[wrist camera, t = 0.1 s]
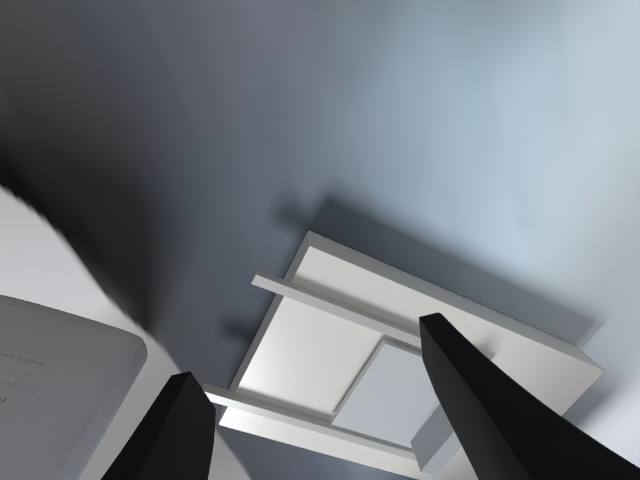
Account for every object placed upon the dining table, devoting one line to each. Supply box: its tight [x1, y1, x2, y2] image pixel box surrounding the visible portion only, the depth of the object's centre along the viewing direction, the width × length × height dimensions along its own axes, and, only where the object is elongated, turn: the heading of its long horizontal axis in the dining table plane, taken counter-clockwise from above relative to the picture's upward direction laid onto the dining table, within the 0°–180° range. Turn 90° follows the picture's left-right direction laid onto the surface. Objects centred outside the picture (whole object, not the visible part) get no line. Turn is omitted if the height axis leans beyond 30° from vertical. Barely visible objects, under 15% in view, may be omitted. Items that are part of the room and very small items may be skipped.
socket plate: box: [202, 230, 605, 480], centre depth 23 cm, size 14×24×3 cm, turn 64°
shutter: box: [331, 339, 462, 476], centre depth 21 cm, size 7×7×2 cm
